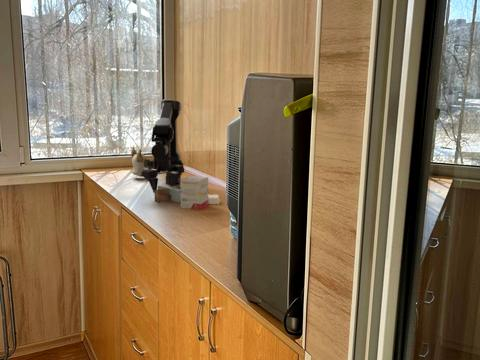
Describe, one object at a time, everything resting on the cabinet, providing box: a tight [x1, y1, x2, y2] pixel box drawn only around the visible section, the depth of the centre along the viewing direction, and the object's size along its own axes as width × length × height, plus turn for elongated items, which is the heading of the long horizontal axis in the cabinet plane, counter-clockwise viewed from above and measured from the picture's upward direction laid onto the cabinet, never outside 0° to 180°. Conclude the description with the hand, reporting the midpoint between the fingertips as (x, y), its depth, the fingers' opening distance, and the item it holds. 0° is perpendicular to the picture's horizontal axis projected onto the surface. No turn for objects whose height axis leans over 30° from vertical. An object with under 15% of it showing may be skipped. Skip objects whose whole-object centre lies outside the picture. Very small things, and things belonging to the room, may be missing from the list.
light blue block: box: [157, 184, 181, 203], centre depth 201 cm, size 2×13×5 cm, turn 49°
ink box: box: [179, 175, 209, 211], centre depth 191 cm, size 9×9×12 cm
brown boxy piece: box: [154, 184, 181, 204], centre depth 201 cm, size 14×2×5 cm, turn 139°
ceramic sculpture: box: [130, 146, 148, 178], centre depth 241 cm, size 11×9×15 cm
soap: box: [208, 194, 221, 205], centre depth 199 cm, size 9×6×3 cm, turn 98°
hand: (163, 191), depth 204 cm, fingers open, 9 cm apart
